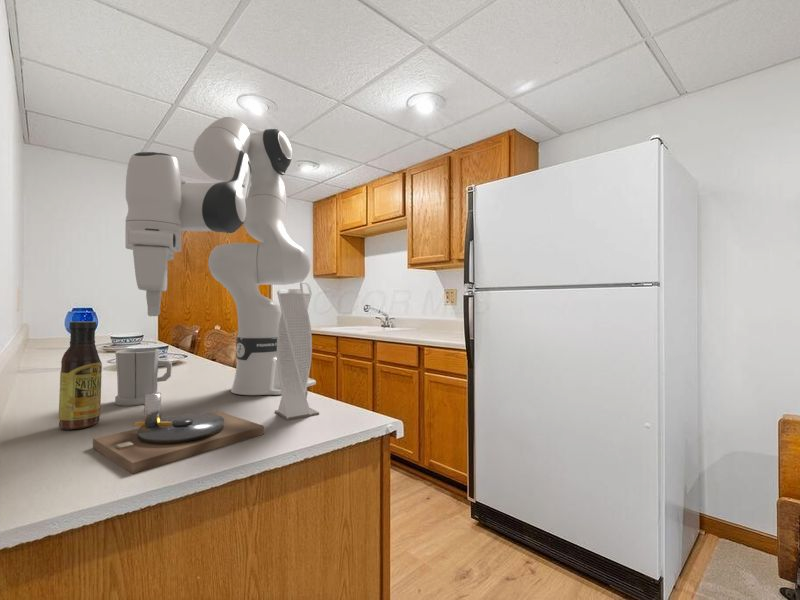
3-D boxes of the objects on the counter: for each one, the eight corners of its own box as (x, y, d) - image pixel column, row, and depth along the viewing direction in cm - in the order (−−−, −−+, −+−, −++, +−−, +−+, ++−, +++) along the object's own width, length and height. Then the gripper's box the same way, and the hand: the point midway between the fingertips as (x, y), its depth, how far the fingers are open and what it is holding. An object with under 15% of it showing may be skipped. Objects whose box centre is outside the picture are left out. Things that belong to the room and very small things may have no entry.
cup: (152, 393, 104) (152, 346, 104) (174, 398, 99) (175, 349, 99) (106, 403, 94) (106, 351, 94) (129, 408, 90) (129, 354, 90)
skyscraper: (322, 416, 85) (323, 281, 85) (284, 422, 80) (285, 280, 80) (305, 407, 92) (306, 282, 92) (269, 413, 87) (270, 281, 87)
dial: (234, 418, 77) (235, 385, 77) (205, 443, 64) (205, 403, 64) (156, 419, 76) (156, 386, 76) (110, 444, 63) (110, 404, 63)
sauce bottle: (77, 432, 74) (77, 322, 74) (49, 430, 75) (49, 322, 75) (109, 421, 80) (110, 320, 80) (83, 419, 82) (83, 320, 81)
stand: (216, 418, 83) (217, 409, 83) (263, 434, 73) (263, 424, 73) (92, 447, 66) (92, 436, 66) (132, 473, 57) (132, 460, 57)
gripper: (139, 245, 83) (139, 314, 83) (127, 231, 65) (126, 318, 65) (174, 247, 86) (174, 313, 86) (172, 234, 68) (172, 318, 68)
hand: (153, 315), depth 75 cm, fingers closed
